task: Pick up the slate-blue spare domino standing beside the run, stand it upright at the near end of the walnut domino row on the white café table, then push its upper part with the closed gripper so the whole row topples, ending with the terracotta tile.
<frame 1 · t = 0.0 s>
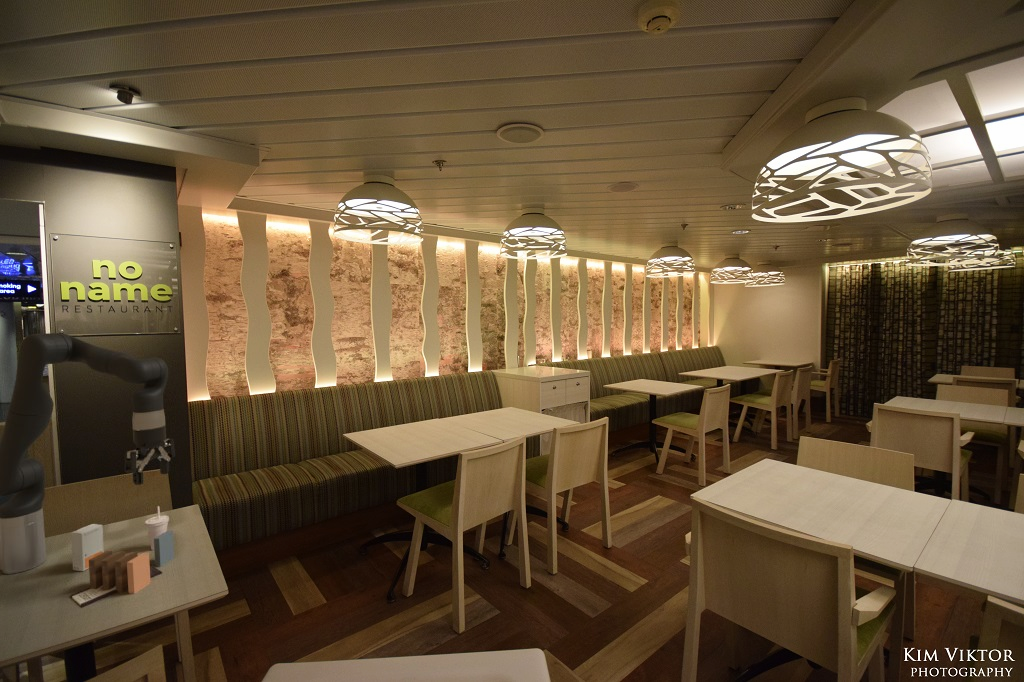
hand: (152, 478, 133), 29 cm above the table, fingers open, 8 cm apart
domino 4: (127, 586, 128), resting on chocolate bar
spare domino: (164, 562, 141), on the table
smoothie: (158, 547, 150), on the table
skincare box: (89, 566, 139), on the table
domino 2: (102, 585, 129), resting on chocolate bar
domino end: (139, 588, 128), on the table
domino 3: (114, 586, 129), resting on chocolate bar
chocolate bar: (118, 586, 129), on the table
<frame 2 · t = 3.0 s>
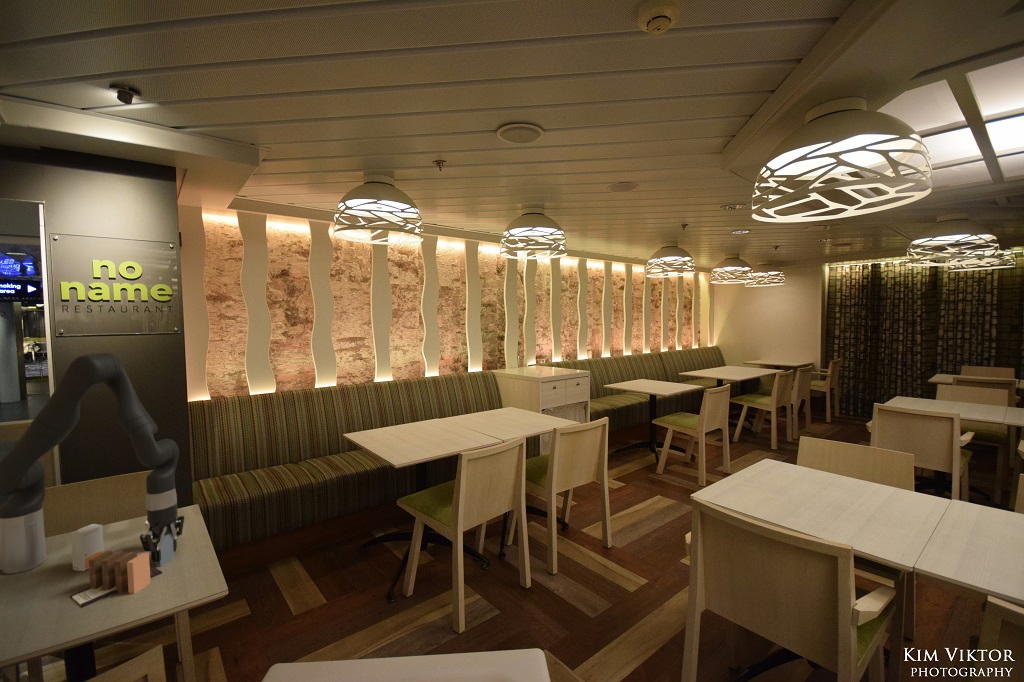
hand: (164, 556, 141), 2 cm above the table, fingers closed on spare domino, 5 cm apart
spare domino: (164, 562, 141), on the table, touching gripper
everything else where it was.
when the fingers open (3 cm above the table, at t = 8.5 s): spare domino stays where it is, on the table.
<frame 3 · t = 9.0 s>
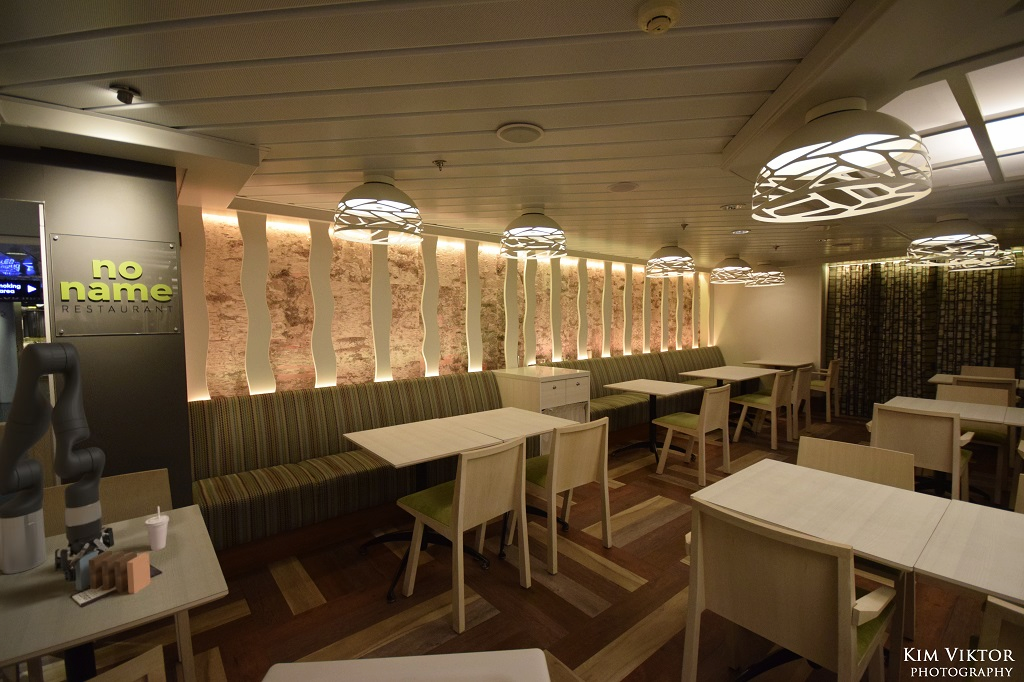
hand: (87, 572, 129), 4 cm above the table, fingers open, 8 cm apart
spare domino: (88, 584, 129), on the table
everything else where it was.
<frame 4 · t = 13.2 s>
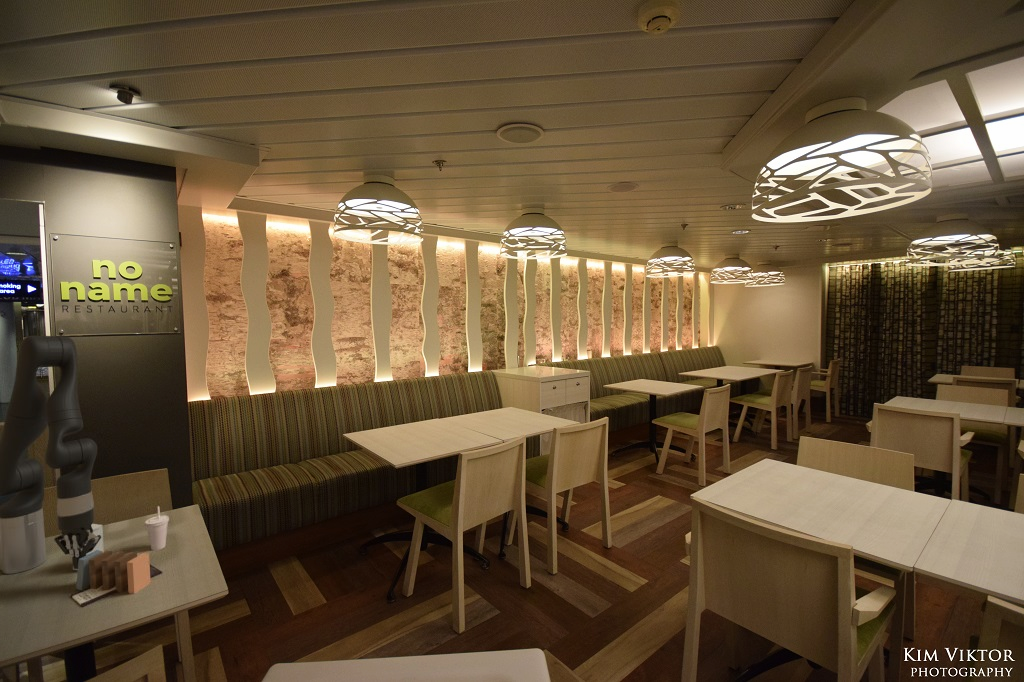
hand: (79, 567, 129), 5 cm above the table, fingers closed
spare domino: (88, 584, 129), on the table, tilted 10°
everything else where it was.
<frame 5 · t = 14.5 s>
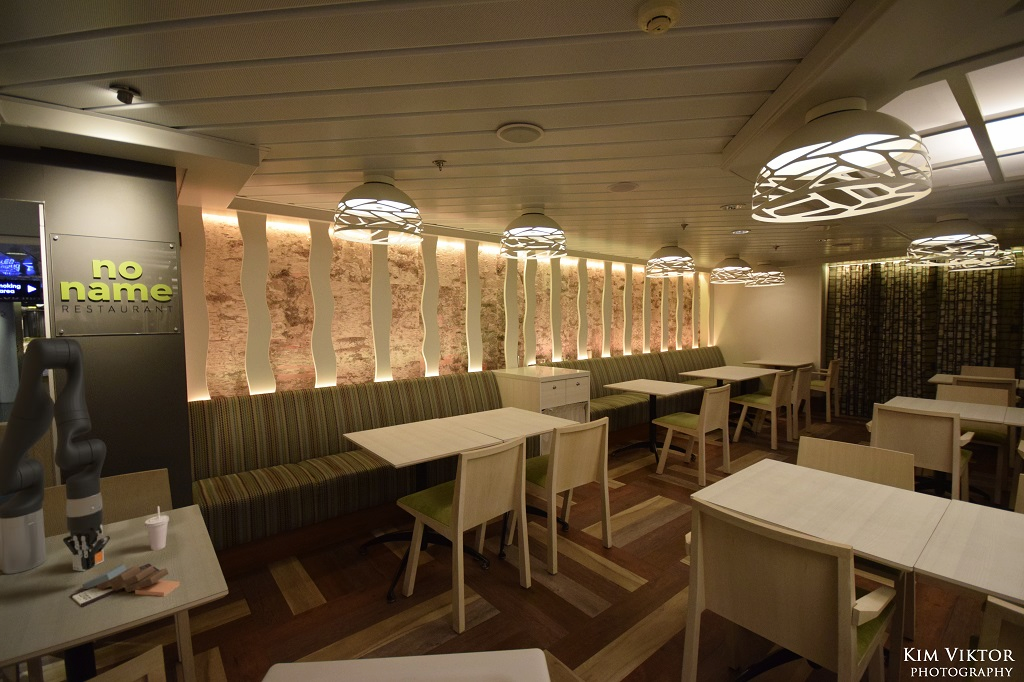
hand: (88, 568, 129), 5 cm above the table, fingers closed
domino 4: (134, 584, 128), point 1 cm above the table, tilted 69°, touching domino 3, domino end
spare domino: (92, 582, 129), point 1 cm above the table, tilted 66°, touching domino 2
domino 2: (106, 582, 129), point 1 cm above the table, tilted 66°, touching domino 3, spare domino
domino end: (143, 587, 127), on the table, tilted 90°, touching domino 4
domino 3: (121, 583, 128), point 1 cm above the table, tilted 66°, touching domino 2, domino 4
everything else where it was.
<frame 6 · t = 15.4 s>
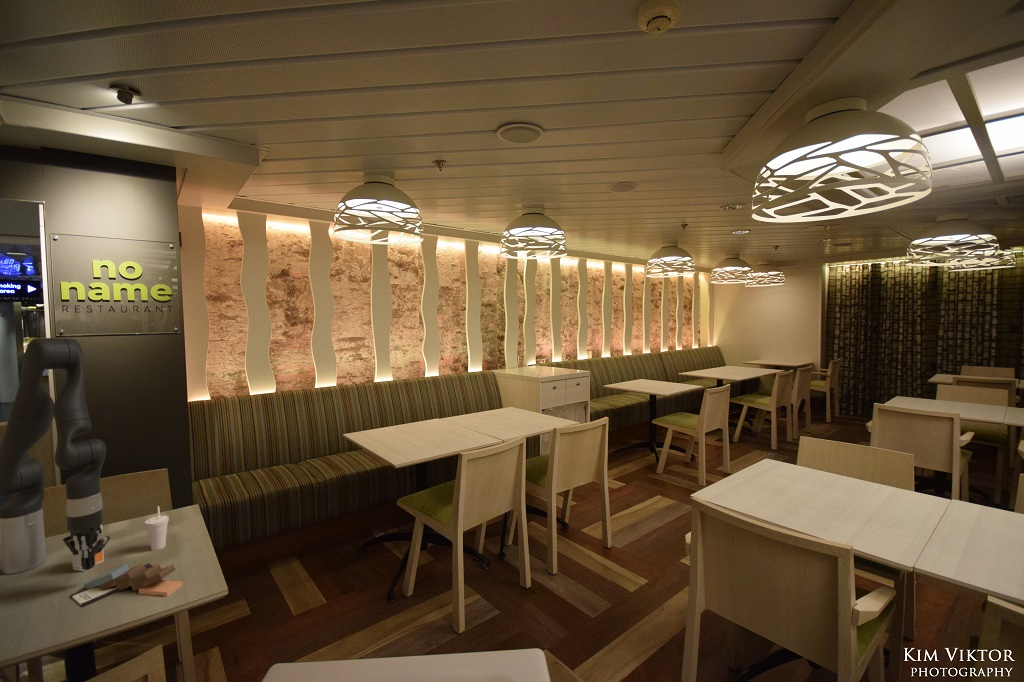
hand: (88, 568, 129), 5 cm above the table, fingers closed
domino 4: (140, 583, 128), point 1 cm above the table, tilted 66°, touching domino 3
domino end: (147, 587, 127), on the table, tilted 90°
domino 3: (125, 582, 128), point 1 cm above the table, tilted 66°, touching domino 2, domino 4
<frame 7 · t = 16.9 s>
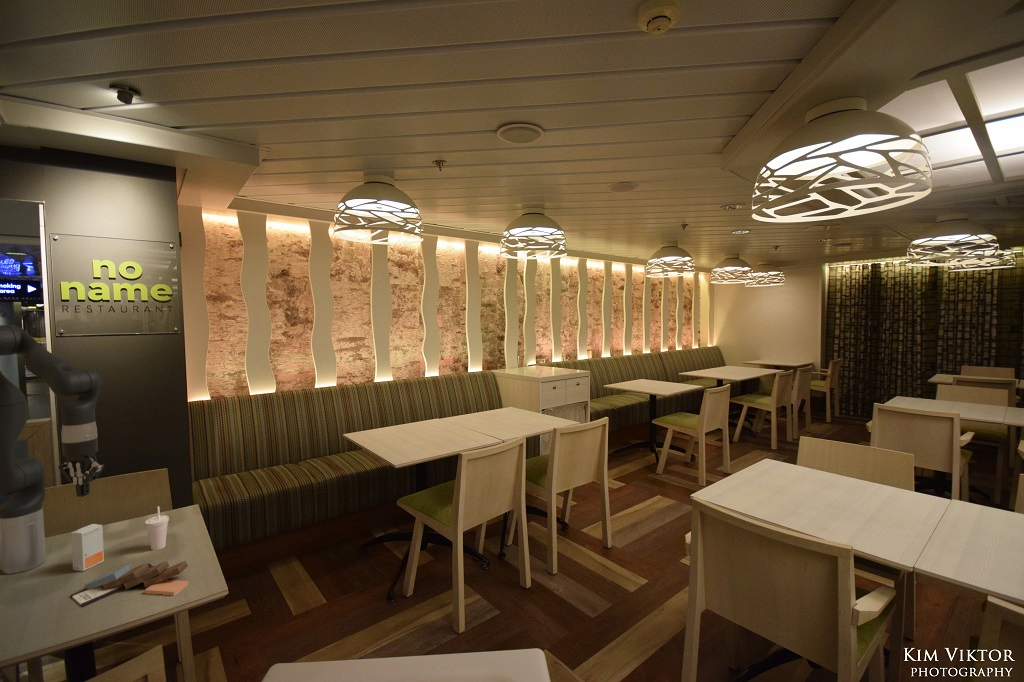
hand: (82, 495, 132), 25 cm above the table, fingers closed
domino 4: (149, 580, 129), point 1 cm above the table, tilted 73°, touching domino 3
domino end: (152, 587, 128), on the table, tilted 90°
domino 3: (130, 582, 129), point 1 cm above the table, tilted 68°, touching domino 2, domino 4
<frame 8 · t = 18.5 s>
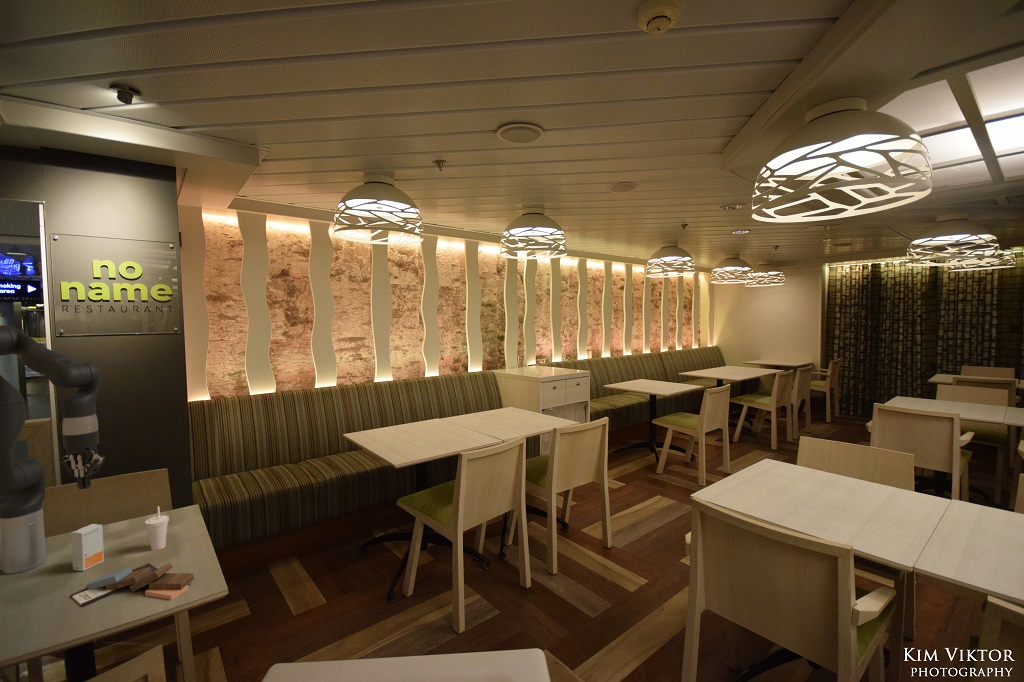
hand: (84, 488, 132), 27 cm above the table, fingers closed
domino 4: (156, 581, 127), point 2 cm above the table, tilted 91°, touching domino 3, domino end
spare domino: (95, 582, 129), point 1 cm above the table, tilted 72°, touching domino 2
domino 2: (114, 583, 129), point 1 cm above the table, tilted 73°, touching domino 3, spare domino
domino end: (154, 589, 127), on the table, tilted 90°, touching domino 4
domino 3: (138, 584, 128), point 1 cm above the table, tilted 60°, touching domino 2, domino 4
everything else where it was.
at the end: domino end tilted 90°; spare domino tilted 72°; spare domino inside the target area (1.2 cm from its centre), point 0.9 cm above the table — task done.
